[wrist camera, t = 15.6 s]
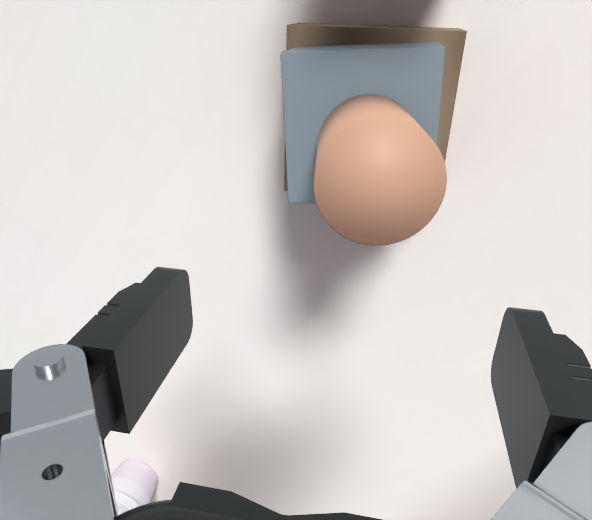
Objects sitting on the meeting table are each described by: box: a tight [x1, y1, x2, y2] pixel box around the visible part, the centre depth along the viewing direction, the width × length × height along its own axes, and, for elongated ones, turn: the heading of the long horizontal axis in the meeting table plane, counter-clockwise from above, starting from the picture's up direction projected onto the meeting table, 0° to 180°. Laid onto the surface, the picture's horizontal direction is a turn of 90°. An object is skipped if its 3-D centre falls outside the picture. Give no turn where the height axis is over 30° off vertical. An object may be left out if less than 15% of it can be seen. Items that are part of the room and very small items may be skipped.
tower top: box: [281, 42, 445, 203], centre depth 28 cm, size 8×8×4 cm
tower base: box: [284, 23, 467, 191], centre depth 32 cm, size 10×10×4 cm
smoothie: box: [111, 459, 158, 515], centre depth 54 cm, size 6×6×14 cm
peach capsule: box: [314, 94, 447, 245], centre depth 23 cm, size 5×5×7 cm
